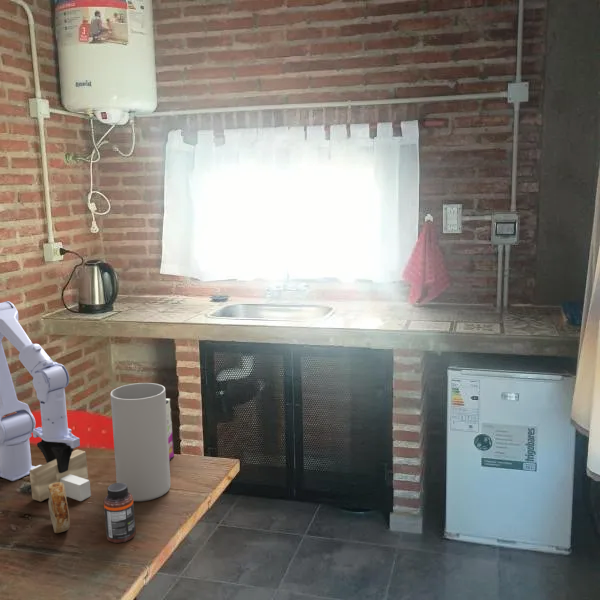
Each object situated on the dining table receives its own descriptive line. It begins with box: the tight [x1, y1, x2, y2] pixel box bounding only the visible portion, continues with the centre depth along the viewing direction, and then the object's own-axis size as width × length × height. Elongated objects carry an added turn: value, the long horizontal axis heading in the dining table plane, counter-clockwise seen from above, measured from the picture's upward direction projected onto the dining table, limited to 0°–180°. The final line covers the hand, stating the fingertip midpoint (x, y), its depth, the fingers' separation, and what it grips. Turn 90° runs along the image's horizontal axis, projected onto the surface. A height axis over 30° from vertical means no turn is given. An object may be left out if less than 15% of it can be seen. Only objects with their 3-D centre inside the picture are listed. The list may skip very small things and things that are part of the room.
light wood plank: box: [29, 449, 89, 502], centre depth 161 cm, size 3×14×7 cm, turn 148°
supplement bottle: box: [103, 482, 136, 544], centre depth 139 cm, size 6×6×11 cm
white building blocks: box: [30, 464, 92, 502], centre depth 161 cm, size 18×3×4 cm, turn 58°
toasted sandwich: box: [48, 482, 71, 534], centre depth 143 cm, size 10×4×10 cm, turn 25°
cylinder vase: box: [110, 382, 172, 502], centre depth 159 cm, size 12×12×25 cm
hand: (58, 469), depth 161 cm, fingers closed on light wood plank, 3 cm apart
